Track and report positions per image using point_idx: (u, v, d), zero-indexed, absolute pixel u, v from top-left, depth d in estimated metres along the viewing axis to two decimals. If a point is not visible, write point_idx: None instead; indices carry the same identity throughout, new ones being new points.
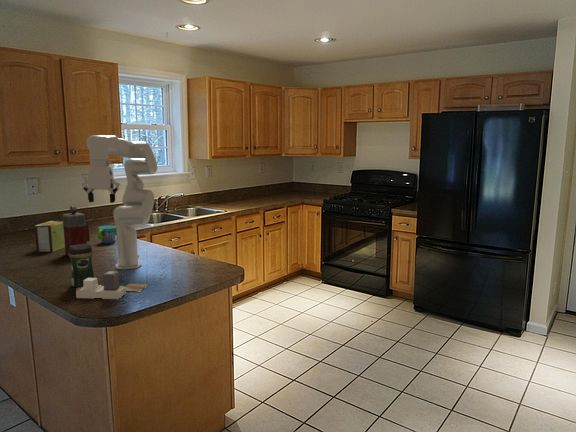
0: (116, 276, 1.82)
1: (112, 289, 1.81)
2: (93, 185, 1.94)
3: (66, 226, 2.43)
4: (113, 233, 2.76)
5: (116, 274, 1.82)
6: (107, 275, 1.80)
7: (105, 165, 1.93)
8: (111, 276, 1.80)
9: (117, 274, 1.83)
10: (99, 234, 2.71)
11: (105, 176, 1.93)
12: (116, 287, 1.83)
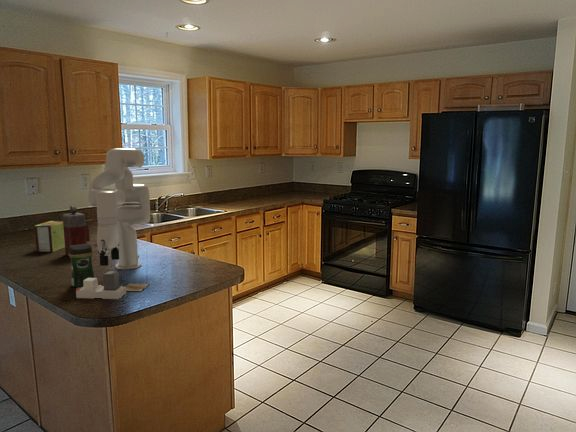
0: (116, 276, 1.82)
1: (112, 289, 1.81)
2: (111, 245, 1.77)
3: (66, 226, 2.43)
4: None
5: (116, 274, 1.82)
6: (107, 275, 1.80)
7: None
8: (111, 276, 1.80)
9: (117, 274, 1.83)
10: None
11: (117, 233, 1.82)
12: (116, 287, 1.83)
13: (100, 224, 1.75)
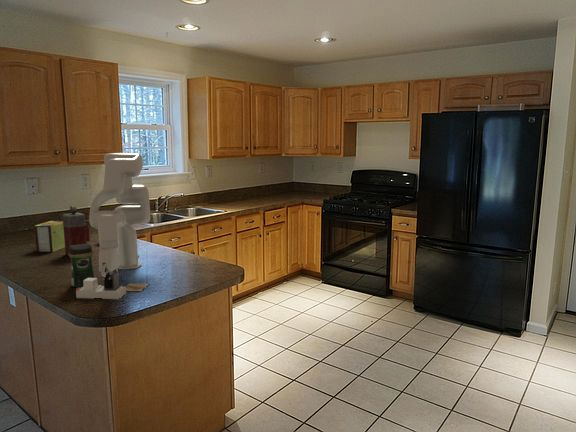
0: (116, 276, 1.82)
1: (112, 289, 1.81)
2: (113, 267, 1.79)
3: (66, 226, 2.43)
4: None
5: (116, 274, 1.82)
6: None
7: None
8: (111, 276, 1.80)
9: (117, 274, 1.83)
10: None
11: (118, 254, 1.84)
12: (116, 287, 1.83)
13: (102, 247, 1.77)
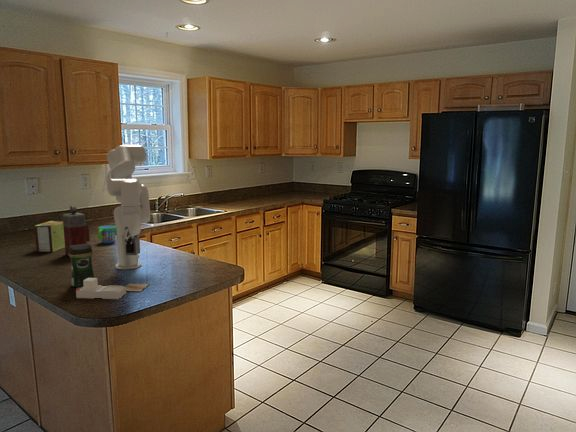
0: (137, 241, 1.90)
1: (134, 253, 1.88)
2: (134, 232, 1.87)
3: (66, 226, 2.43)
4: (113, 233, 2.76)
5: (137, 239, 1.90)
6: None
7: None
8: (133, 241, 1.87)
9: (138, 239, 1.91)
10: (99, 234, 2.71)
11: (139, 221, 1.91)
12: (137, 252, 1.90)
13: (124, 212, 1.84)
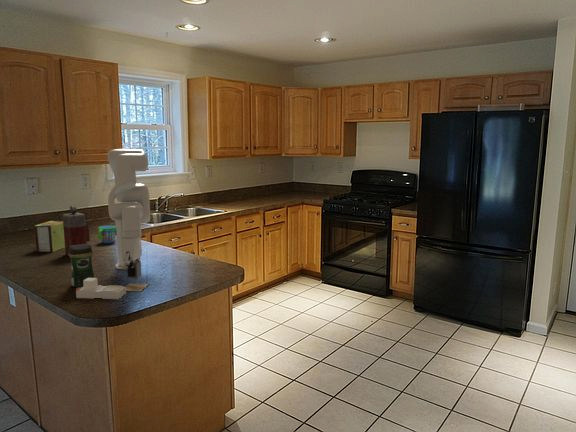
0: (138, 265, 1.91)
1: (135, 277, 1.90)
2: (135, 256, 1.88)
3: (66, 226, 2.43)
4: (113, 233, 2.76)
5: (138, 263, 1.91)
6: None
7: None
8: (134, 265, 1.89)
9: (139, 263, 1.92)
10: (99, 234, 2.71)
11: (140, 244, 1.93)
12: (138, 275, 1.91)
13: (125, 237, 1.86)
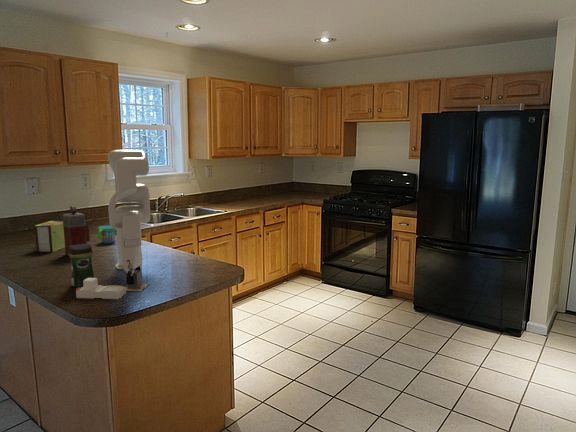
0: (139, 275, 1.92)
1: (135, 287, 1.91)
2: (136, 265, 1.89)
3: (66, 226, 2.43)
4: (113, 233, 2.76)
5: (139, 273, 1.92)
6: None
7: None
8: (134, 275, 1.90)
9: (140, 273, 1.93)
10: (99, 234, 2.71)
11: (141, 252, 1.94)
12: (139, 285, 1.93)
13: (126, 245, 1.87)
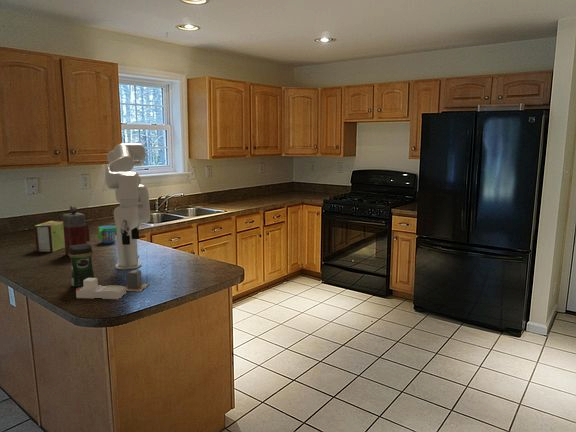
0: (139, 275, 1.92)
1: (135, 287, 1.91)
2: (133, 225, 1.87)
3: (66, 226, 2.43)
4: (113, 233, 2.76)
5: (139, 273, 1.92)
6: (131, 274, 1.90)
7: None
8: (134, 275, 1.90)
9: (140, 273, 1.93)
10: (99, 234, 2.71)
11: (137, 214, 1.92)
12: (139, 285, 1.93)
13: (122, 205, 1.85)
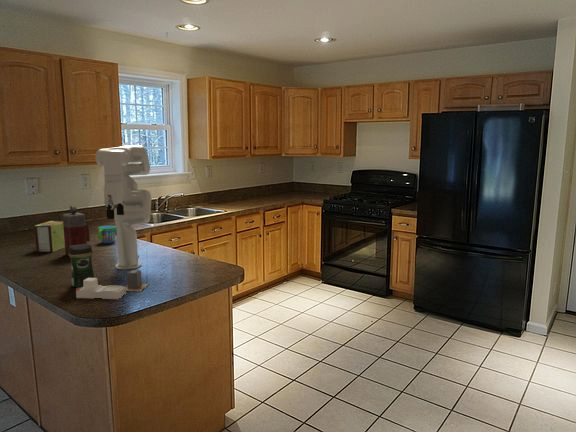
0: (139, 275, 1.92)
1: (135, 287, 1.91)
2: (117, 200, 1.94)
3: (66, 226, 2.43)
4: (113, 233, 2.76)
5: (139, 273, 1.92)
6: (131, 274, 1.90)
7: None
8: (134, 275, 1.90)
9: (140, 273, 1.93)
10: (99, 234, 2.71)
11: (122, 190, 1.99)
12: (139, 285, 1.93)
13: (107, 181, 1.92)
